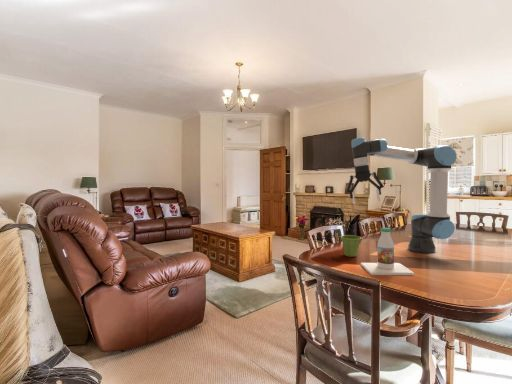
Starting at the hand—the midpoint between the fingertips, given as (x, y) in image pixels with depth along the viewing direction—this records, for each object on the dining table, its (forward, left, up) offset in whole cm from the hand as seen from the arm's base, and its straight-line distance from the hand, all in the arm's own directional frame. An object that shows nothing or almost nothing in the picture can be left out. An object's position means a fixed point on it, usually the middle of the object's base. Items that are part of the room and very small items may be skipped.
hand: (366, 202), depth 160 cm
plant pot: (+7, -8, -33) cm, 35 cm away
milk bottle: (-3, +19, -32) cm, 37 cm away
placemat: (-3, +19, -33) cm, 38 cm away
